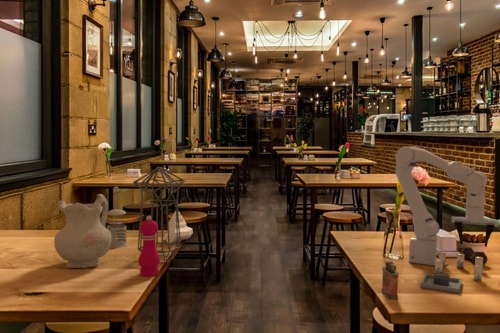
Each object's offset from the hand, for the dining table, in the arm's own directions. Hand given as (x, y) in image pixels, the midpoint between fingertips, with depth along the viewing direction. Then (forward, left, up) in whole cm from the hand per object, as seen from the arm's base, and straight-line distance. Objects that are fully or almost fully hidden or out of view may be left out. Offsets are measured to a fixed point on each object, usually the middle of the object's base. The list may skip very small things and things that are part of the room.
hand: (473, 244), depth 162 cm
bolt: (-1, +16, -10) cm, 19 cm away
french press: (-135, -34, -10) cm, 140 cm away
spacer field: (-4, -5, -9) cm, 11 cm away
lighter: (-21, -39, -10) cm, 45 cm away
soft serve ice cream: (-117, -14, -10) cm, 118 cm away
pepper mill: (-97, -58, -10) cm, 113 cm away
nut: (-8, -22, -9) cm, 25 cm away
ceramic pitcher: (-125, -59, -10) cm, 139 cm away
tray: (-8, -22, -9) cm, 25 cm away
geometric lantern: (-104, -42, -10) cm, 113 cm away
